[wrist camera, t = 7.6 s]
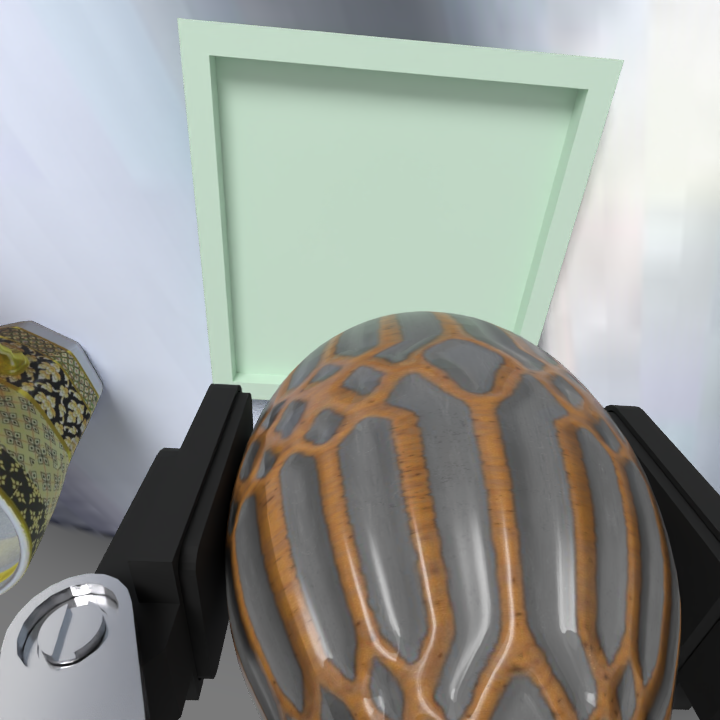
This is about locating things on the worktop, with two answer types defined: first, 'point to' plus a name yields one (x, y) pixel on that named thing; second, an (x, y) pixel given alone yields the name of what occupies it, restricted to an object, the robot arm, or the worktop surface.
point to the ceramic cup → (37, 433)
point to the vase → (447, 538)
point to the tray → (378, 183)
